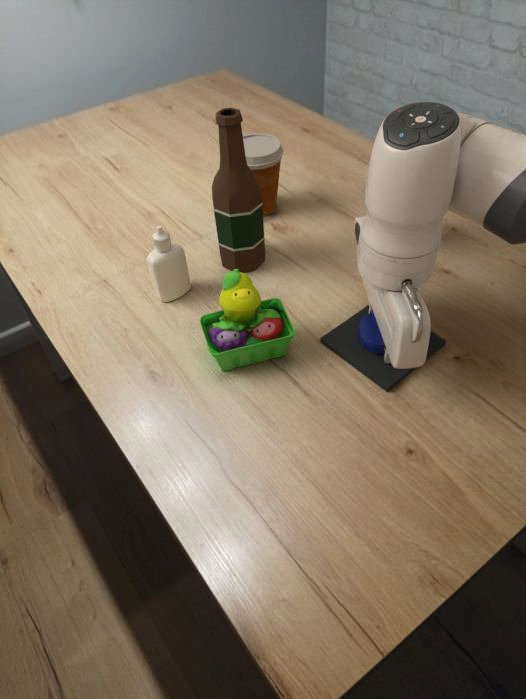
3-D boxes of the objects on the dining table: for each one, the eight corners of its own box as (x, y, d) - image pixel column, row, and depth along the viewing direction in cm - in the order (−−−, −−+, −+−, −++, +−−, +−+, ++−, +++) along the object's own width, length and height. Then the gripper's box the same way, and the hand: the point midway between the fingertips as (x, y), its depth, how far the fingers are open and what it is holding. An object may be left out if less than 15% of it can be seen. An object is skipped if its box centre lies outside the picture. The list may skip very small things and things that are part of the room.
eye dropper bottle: (155, 286, 81) (137, 221, 73) (190, 280, 82) (177, 215, 73) (156, 304, 78) (138, 239, 70) (193, 298, 79) (180, 232, 70)
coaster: (377, 301, 76) (378, 297, 76) (445, 344, 70) (446, 340, 69) (319, 342, 71) (320, 338, 71) (387, 392, 65) (388, 388, 64)
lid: (349, 339, 70) (350, 331, 68) (373, 313, 73) (375, 304, 71) (389, 361, 67) (391, 352, 66) (413, 332, 70) (415, 324, 69)
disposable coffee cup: (255, 228, 91) (250, 164, 82) (223, 207, 96) (215, 144, 87) (295, 207, 95) (295, 144, 86) (262, 188, 100) (259, 126, 91)
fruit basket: (215, 381, 68) (203, 319, 59) (201, 335, 73) (189, 273, 65) (297, 360, 69) (297, 297, 61) (277, 317, 75) (275, 254, 67)
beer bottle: (213, 271, 83) (190, 123, 66) (226, 243, 88) (209, 98, 71) (260, 277, 82) (249, 126, 64) (271, 247, 87) (264, 100, 69)
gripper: (454, 314, 53) (429, 396, 63) (399, 206, 67) (386, 288, 77) (393, 320, 53) (378, 401, 63) (351, 211, 67) (344, 292, 77)
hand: (382, 338), depth 70 cm, fingers closed on lid, 6 cm apart
